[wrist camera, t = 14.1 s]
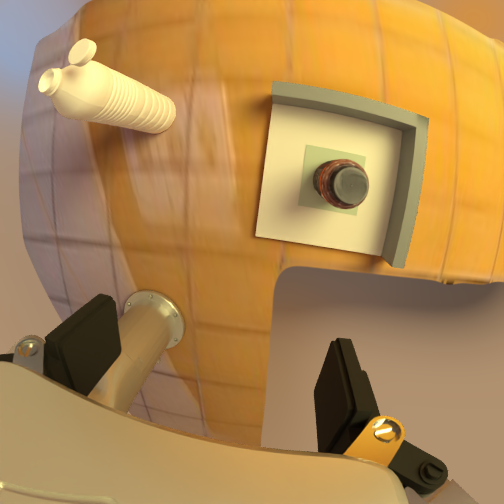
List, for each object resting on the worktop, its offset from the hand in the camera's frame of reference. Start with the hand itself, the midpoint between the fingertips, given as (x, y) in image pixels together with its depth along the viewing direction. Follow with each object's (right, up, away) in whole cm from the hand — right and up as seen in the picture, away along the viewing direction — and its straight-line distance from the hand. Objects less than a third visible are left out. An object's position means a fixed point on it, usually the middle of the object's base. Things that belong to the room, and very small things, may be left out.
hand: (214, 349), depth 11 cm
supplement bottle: (+13, +14, +27) cm, 33 cm away
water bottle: (-12, +26, +28) cm, 40 cm away
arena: (+14, +15, +28) cm, 35 cm away
